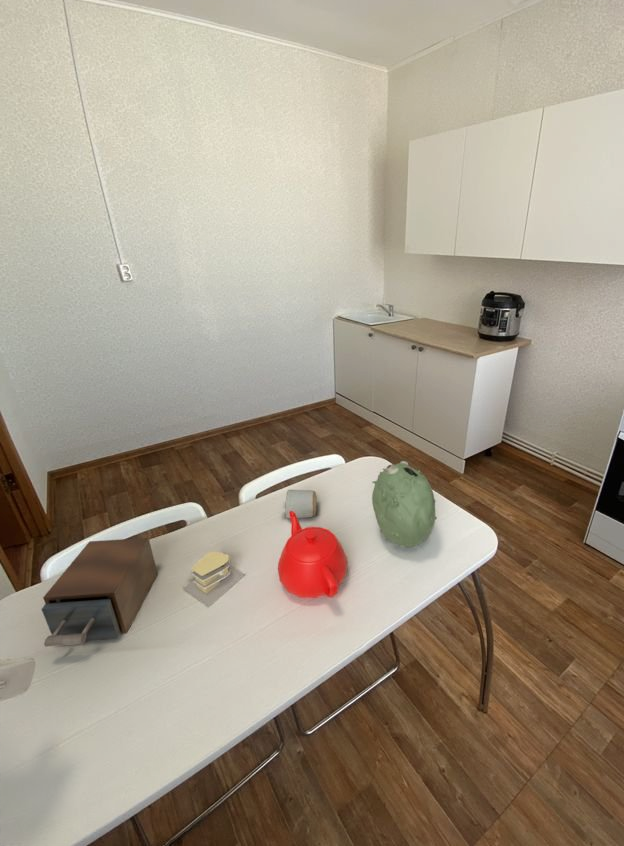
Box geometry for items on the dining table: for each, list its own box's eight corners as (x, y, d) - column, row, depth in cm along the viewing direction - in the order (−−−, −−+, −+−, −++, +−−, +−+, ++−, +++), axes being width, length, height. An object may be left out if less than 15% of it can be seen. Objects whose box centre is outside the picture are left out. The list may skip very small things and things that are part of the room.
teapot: (369, 600, 81) (369, 554, 77) (300, 634, 74) (295, 586, 70) (321, 530, 101) (318, 491, 97) (263, 552, 94) (258, 511, 90)
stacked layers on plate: (208, 607, 80) (204, 587, 78) (182, 588, 84) (177, 569, 83) (245, 574, 88) (242, 555, 86) (219, 559, 92) (216, 541, 90)
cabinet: (126, 633, 75) (113, 592, 71) (59, 638, 74) (42, 597, 70) (157, 574, 88) (148, 537, 85) (101, 578, 87) (89, 541, 84)
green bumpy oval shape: (402, 574, 87) (404, 501, 80) (358, 528, 102) (356, 462, 95) (451, 547, 95) (457, 478, 88) (404, 507, 110) (406, 445, 103)
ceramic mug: (316, 522, 104) (315, 498, 102) (286, 524, 104) (284, 500, 101) (317, 499, 114) (316, 477, 112) (289, 501, 114) (287, 478, 111)
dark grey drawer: (104, 663, 68) (92, 627, 65) (37, 668, 68) (21, 633, 65) (149, 581, 85) (140, 550, 82) (96, 585, 85) (85, 553, 82)
